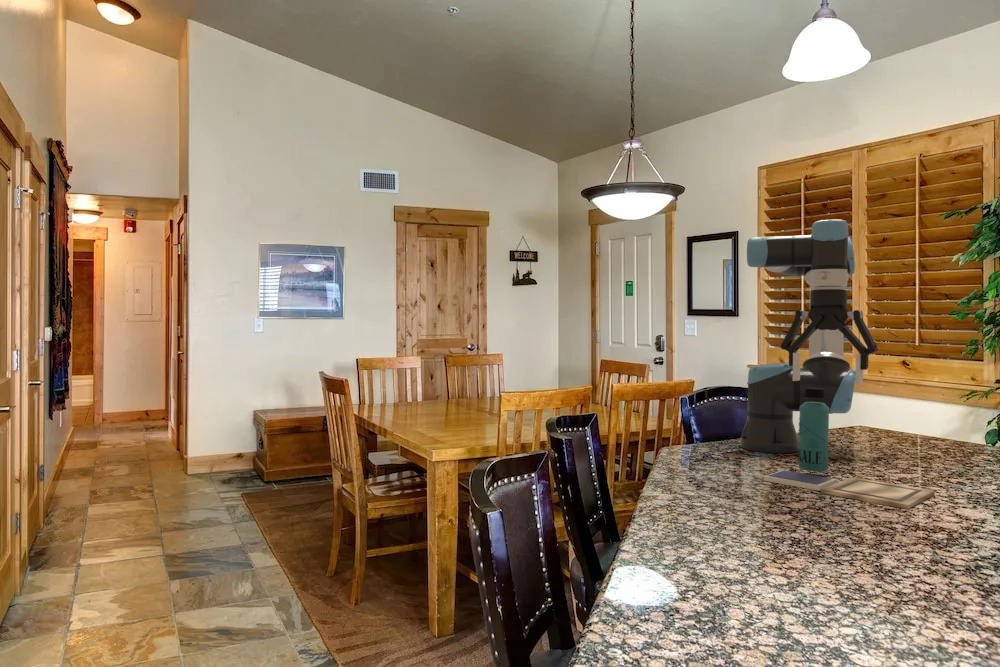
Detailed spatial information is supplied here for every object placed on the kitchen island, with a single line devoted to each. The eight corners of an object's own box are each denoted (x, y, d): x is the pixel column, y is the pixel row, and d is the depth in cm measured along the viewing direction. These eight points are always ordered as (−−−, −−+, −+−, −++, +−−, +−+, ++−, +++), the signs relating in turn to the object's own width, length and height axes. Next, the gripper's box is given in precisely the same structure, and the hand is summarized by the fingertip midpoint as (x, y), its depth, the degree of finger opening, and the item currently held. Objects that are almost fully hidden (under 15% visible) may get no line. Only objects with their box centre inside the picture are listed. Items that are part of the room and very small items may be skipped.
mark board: (821, 492, 143) (821, 488, 143) (851, 480, 154) (851, 476, 154) (908, 509, 131) (908, 504, 131) (934, 494, 142) (934, 490, 142)
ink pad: (763, 480, 154) (764, 475, 154) (782, 474, 160) (782, 469, 160) (819, 490, 145) (819, 485, 145) (836, 483, 151) (837, 478, 151)
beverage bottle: (822, 472, 162) (824, 386, 162) (833, 479, 156) (835, 389, 155) (793, 471, 163) (795, 385, 162) (803, 478, 156) (804, 388, 156)
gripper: (767, 289, 164) (765, 379, 165) (885, 287, 147) (883, 387, 148) (779, 290, 170) (778, 377, 170) (894, 288, 153) (892, 385, 153)
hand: (826, 382), depth 159 cm, fingers open, 13 cm apart
